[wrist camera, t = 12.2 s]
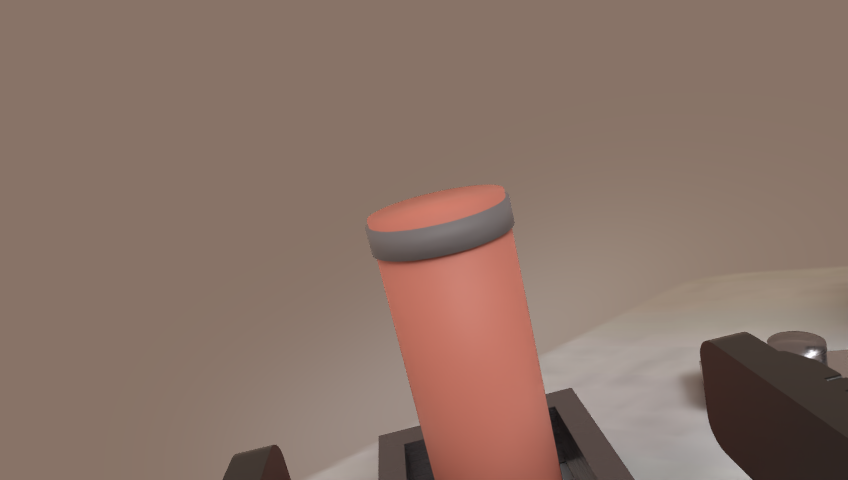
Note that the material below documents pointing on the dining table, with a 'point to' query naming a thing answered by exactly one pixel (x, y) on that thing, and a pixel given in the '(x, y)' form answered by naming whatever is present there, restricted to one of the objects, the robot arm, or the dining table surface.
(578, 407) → the bracket
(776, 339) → the plate
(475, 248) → the post
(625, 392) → the dining table surface
